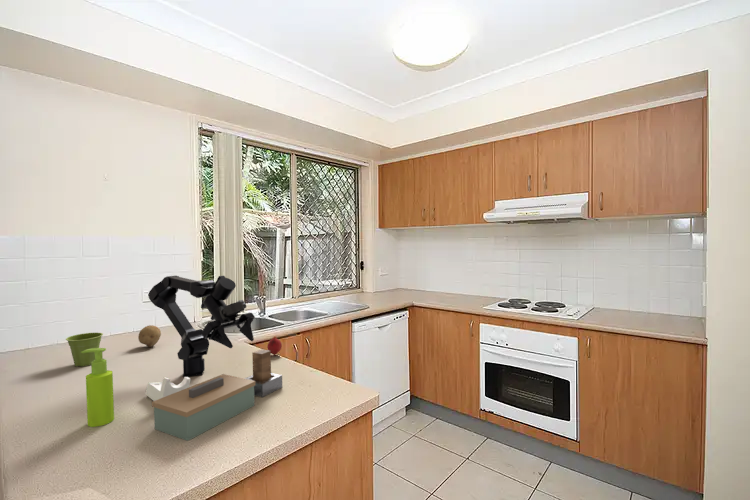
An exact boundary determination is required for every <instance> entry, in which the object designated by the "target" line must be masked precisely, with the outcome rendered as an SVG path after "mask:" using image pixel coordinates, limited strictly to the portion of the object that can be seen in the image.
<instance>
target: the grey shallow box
mask: <svg viewBox="0 0 750 500" xmlns="http://www.w3.org/2000/svg"><path fill="white" fill-rule="evenodd" d="M244 379H248V380H253V374H251V375H250V376H247V377H245V378H244ZM253 381H255V380H253ZM282 388H283V374H278V373H273V372H271V378H270V379H268V380H266V381H264V382H260V381H255V386H254V391H255V396H256V397H260V398H264V397H266V396H268V395H270V394H272V393H274V392H276V391H278V390H279V389H282ZM255 396H254V397H255Z"/></svg>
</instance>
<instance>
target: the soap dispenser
mask: <svg viewBox="0 0 750 500" xmlns="http://www.w3.org/2000/svg"><path fill="white" fill-rule="evenodd" d="M105 351H107V348H106V347H99V348H91V349H87V350H84V351H82V352H81V353H86V352H95V360H94V361H92V362H91V365H90V368H91V371H90V372H91V373H88V374H87V375H86V376H85V388H86V389H85V391H86V392H85V393H86V394H85V395H86V414H87V415H86V416H87V427H91V428H96V427H97V428H98V427H101V426H105V425H108V424H110V423H112V422H113V421H114V420H115V412H114V411H115V409H114V407H115V406H114V401H115V400H114V378H113V377H114V376H113V371H112V370H109V369H108V362H107V359H106V358H103V352H105Z"/></svg>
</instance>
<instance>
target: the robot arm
mask: <svg viewBox="0 0 750 500" xmlns="http://www.w3.org/2000/svg"><path fill="white" fill-rule="evenodd" d="M235 289H236V283H235V281H234V280H232V279H230V278H228V277H226V276H225V275H219V276H218V277H217V279H216V281H214V280H212V279H206V280H195V279H190V278H186V277H183V276H179V275H169V276H168V275H167V276H165V277H163V279H162V280H161V281H160V282H157V283H156V284H154V285H153V286H152V288H151V289H150V290H149V291H148V295H147V296H148V297H147V298H148V299H149V301H150V302H151V303H152V304H153V305H154V306H155V307H157V308H159V309H161V310H163V312H164V314H165V315H166V316H167V318H168V319H169V320H170V322H171V323H172V325H173V327H174V329H175V330H176V331H177V333H178V334H179V336H180V339H181V341H180V347H181V348H180V349H179V350H178V351H177V358H178V360H182V362H183V363H182V367H183V368H182V369H183V370H182V371H183V374H182V378H184V377H194V376H202V375H203V374H204V372H205V368H206V367H205V366H206V365H205V362H206V361H205V358H203V357H204V356H206V355H208V352H209V346H210V341H214V342H216V343H219V344H221V345H223V346H225V347H227V348H229V349H232V348H233V347H234V345H233V344H232V341H231V340H230V339H229V336H228V335H227V333H226V332H225V329H228V328H231V327H235V326H236V328H238V329H239V332H240V333H241V334H242V335H243V336H245V338H246V339H248V340H249V341H250V342H253V341H254V340H255V337H254V334H253V330H252V324H253V321H254V319H255V318H256V316H255V315H254V314H253V312H250V311H249V312H246V313H242V314H241V315H240V316H239V313H241V312H244V311H245V309H246V308H247V303H246V302H245V301H244V300H243V299H239V300H238V301H236V302H232V303H229V304H226V302H225V301H226V300H228V299H229V297H230V295H231V294H232V293H233V291H234V290H235ZM179 290H181V291H185V292H188V293H190V294H189V295H191V296H192V297H194V298H195V299H196V298H197V299H201V298H204V300H201V305H200V309H207V311H208V312H209V314H210V315H211V316H210V320H211V321H208V322H207V323H206V324H205V326H204V327H203V329H202V328H199V329H195V328H194V327H193V325H192V324H191V322H190V320H189V319H188V318H187V316H186V315H185V314H184V312H183V311H182V309H181V308H180V306H179V305H178V303H177V293H178V292H179ZM238 316H239V318H238ZM209 340H210V341H209Z"/></svg>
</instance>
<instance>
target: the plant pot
mask: <svg viewBox="0 0 750 500" xmlns="http://www.w3.org/2000/svg"><path fill="white" fill-rule="evenodd" d="M103 335H104V333H103V332H86V333H85V332H84V333H80V334H74V335H70V336H68V337H66V338H65V340H66V341H67V344H68V346H69V348H70V351H71V356H72V360H73V363H74V366H75V367H88V366H91V362H92V361H94V360H95V352H86V353H81V352H82V351H84V350H87V349H91V348H100V344H101V341H102V337H103Z"/></svg>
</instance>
